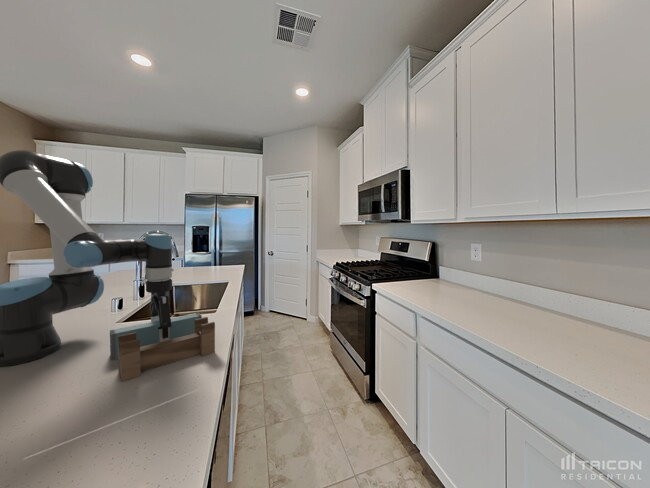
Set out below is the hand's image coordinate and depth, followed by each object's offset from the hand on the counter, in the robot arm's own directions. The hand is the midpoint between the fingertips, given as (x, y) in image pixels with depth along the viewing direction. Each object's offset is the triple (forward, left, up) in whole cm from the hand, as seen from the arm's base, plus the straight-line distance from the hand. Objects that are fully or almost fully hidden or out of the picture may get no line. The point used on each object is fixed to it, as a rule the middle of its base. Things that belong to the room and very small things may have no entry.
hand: (160, 340), depth 87 cm
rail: (0, 0, -2) cm, 2 cm away
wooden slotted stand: (+14, 0, -2) cm, 14 cm away
